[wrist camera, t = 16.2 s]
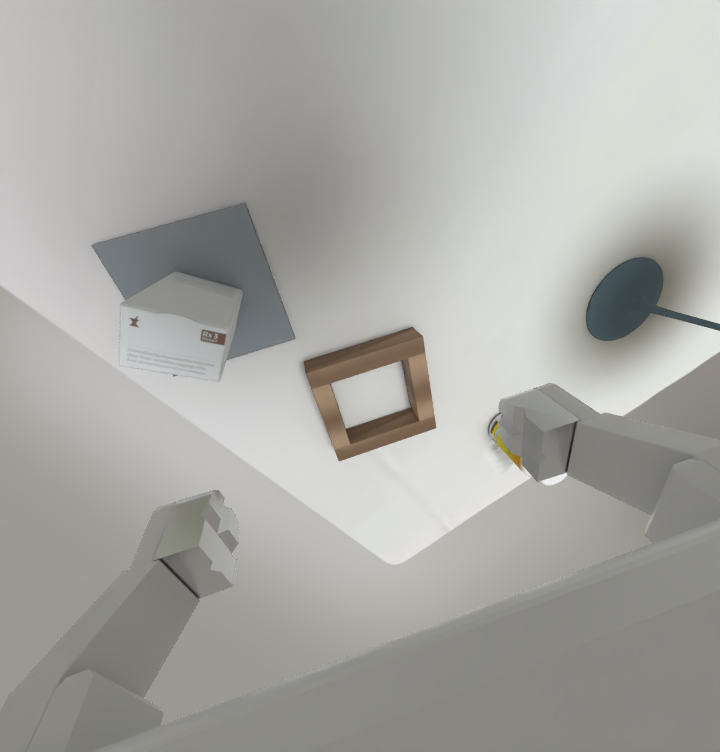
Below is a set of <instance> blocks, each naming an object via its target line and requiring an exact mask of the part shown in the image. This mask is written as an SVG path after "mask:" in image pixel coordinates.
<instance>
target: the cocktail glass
mask: <svg viewBox="0 0 720 752" xmlns="http://www.w3.org/2000/svg"><path fill="white" fill-rule="evenodd" d="M662 286H663V273H662V270H661V268H660V266H659V264H658V263H656V262H655V261H654V260H652V259H649V258H636V259H632V260H629V261H627V262H624V263H623V264H621V265H619V266H618V267H617V268H615V269H614V270H613V271H611V272H610V273H609V274H608V275H607V276H606V277H605V278H604V280H603V281H602V282H601V283H600V284H599V286H598V287H597V289H596V290H595V292H594V294H593V296H592V298H591V300H590V303H589V306H588V310H587V326H588V329H589V331H590V333H591V334H592V335H593V336H594V337H595V338H597V339H599V340H604V341H611V340H616V339H619V338H622V337H624V336H626V335H628V334H629V333H631V332H632V331H634V330H635V329H636V328H637V327H639V326H640V325H641V324H642V323H643V322H644V321H645V319H646V318H647V317H648V316H649V315H650V313H653V314H658V315H662V316H666V317H670V318H674V319H678V320H682V321H685V322H689V323H693V324H696V325H700V326H704V327H708V328H711V329H715V330H719V331H720V324H718V323H714V322H710V321H707V320H703V319H700V318H696V317H692V316H689V315H685V314H681V313H678V312H674V311H671V310H667V309H664V308H661V307H658V306H655V305H656V304H657V301H658V299H659V297H660V294H661V291H662Z"/></svg>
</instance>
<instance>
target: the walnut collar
mask: <svg viewBox="0 0 720 752" xmlns="http://www.w3.org/2000/svg"><path fill="white" fill-rule="evenodd" d="M401 360H402V364H403V370H404V375H405V380H406V385H407V390H408V396H409V401H410V406H411V408H409V409H406V410H403V411H400V412H397V413H394V414H391V415H388V416H385V417H382V418H379V419H376V420H373V421H370V422H367V423H364V424H361V425H358V426H355V427H352V428H349V429H345V426H344V423H343V420H342V417H341V414H340V411H339V408H338V405H337V402H336V399H335V396H334V393H333V390H332V387H331V384H330V383H333V382H336V381H339V380H342V379H345V378H348V377H351V376H355V375H358V374H361V373H364V372H367V371H370V370H373V369H376V368H379V367H382V366H386V365H389V364H392V363H395V362H398V361H401ZM304 365H305V371H306V375H307V378H308V381H309V383H310V386H311V389H312V391H313V394H314V397H315V399H316V402H317V405H318V407H319V410H320V413H321V415H322V418H323V420H324V423H325V426H326V428H327V431H328V434H329V436H330V439H331V442H332V444H333V447H334V450H335V452H336V455H337V458H338V460H339V461H342V460H344V459H347V458H350V457H353V456H356V455H359V454H362V453H365V452H368V451H371V450H374V449H377V448H379V447H382V446H385V445H388V444H391V443H394V442H397V441H400V440H403V439H406V438H409V437H412V436H414V435H417V434H420V433H423V432H426V431H429V430H432V429H435V428H436V423H435V416H434V409H433V402H432V396H431V389H430V382H429V375H428V368H427V361H426V355H425V348H424V341H423V336H422V335H421V334H420V333H419V332H417V331H416V330H415V329H414V328H413V327H412V328H409V329H406V330H403V331H399V332H396V333H393V334H390V335H387V336H384V337H380V338H377V339H374V340H371V341H368V342H365V343H361V344H358V345H355V346H352V347H349V348H346V349H342V350H339V351H336V352H333V353H330V354H326V355H323V356H320V357H317V358H314V359H311V360H307V361H304Z"/></svg>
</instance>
